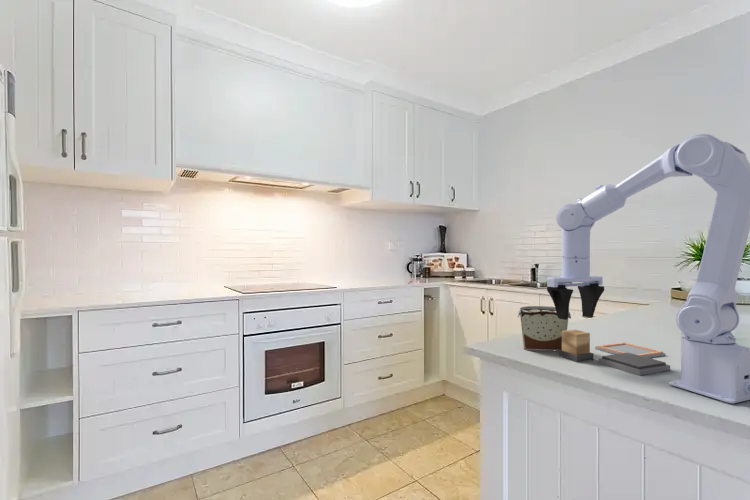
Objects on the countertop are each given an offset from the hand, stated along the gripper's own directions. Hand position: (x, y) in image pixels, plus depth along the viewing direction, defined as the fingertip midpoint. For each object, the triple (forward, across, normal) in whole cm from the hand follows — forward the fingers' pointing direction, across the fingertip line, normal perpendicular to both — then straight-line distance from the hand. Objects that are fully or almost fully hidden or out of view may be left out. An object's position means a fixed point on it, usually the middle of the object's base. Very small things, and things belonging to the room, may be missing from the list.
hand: (575, 317), depth 87 cm
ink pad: (+9, -6, +9) cm, 14 cm away
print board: (+9, -16, +1) cm, 18 cm away
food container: (+9, 0, -10) cm, 14 cm away
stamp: (+9, 0, 0) cm, 9 cm away
